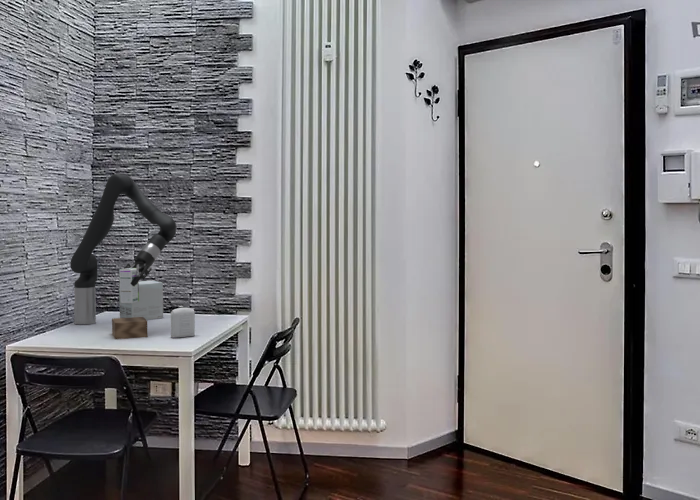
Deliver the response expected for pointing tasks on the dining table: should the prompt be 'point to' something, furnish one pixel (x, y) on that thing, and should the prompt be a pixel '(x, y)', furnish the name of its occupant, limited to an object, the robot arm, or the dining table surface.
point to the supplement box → (145, 302)
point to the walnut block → (129, 327)
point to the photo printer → (182, 322)
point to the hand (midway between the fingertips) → (126, 284)
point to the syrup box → (128, 286)
